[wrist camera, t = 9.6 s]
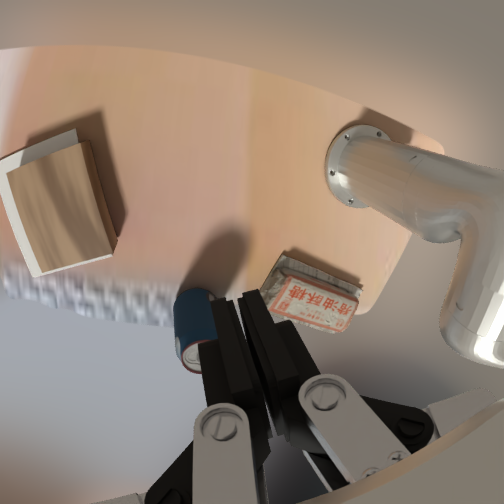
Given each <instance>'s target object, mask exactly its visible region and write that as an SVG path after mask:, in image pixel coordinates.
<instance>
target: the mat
mask: <svg viewBox="0 0 504 504" xmlns="http://www.w3.org/2000/svg"><path fill="white" fill-rule="evenodd" d="M78 143H79V141H78V137H77V132H76V128H75V129H72V130H70V131H67V132H64V133H62V134H59V135H57V136H54V137H52V138H49V139H47V140H44V141H42V142H39V143H37V144H35V145H32V146H30V147H28V148H26V149H23V150H21V151H19V152H17V153H15V154H13V155H11V156H9V157H6V158H4V159H2V160H0V194H1V197H2V200H3V203H4V206H5V209H6V212H7V215H8V218H9V221H10V224H11V226H12V229H13V232H14V234H15V237H16V239H17V242H18V244H19V247H20V249H21V252H22V254H23V256H24V259H25V261H26V263H27V266H28V268H29V270H30V272H31V274H32V277H33V278H35V277H39V276H42V275H46V274H49V273H53V272H56V271H60V270H64V269H67V268H71V267H75V266H78V265H82V264H86V263H89V262H93V261H97V260H101V259H104V258H108V257H112V254H109V255H106V256H102V257H98V258H94V259H91V260H87V261H83V262H80V263H76V264H72V265H69V266H65V267H62V268H58V269H55V270H51V271H47V272H44V273H42V271H41V269H40V267H39V265H38V262H37V260H36V258H35V255H34V253H33V251H32V248H31V246H30V243H29V241H28V238H27V236H26V233H25V230H24V228H23V225H22V222H21V219H20V216H19V214H18V211H17V208H16V205H15V202H14V198H13V195H12V192H11V189H10V185H9V182H8V178H7V175H6V173H7V172H9V171H12V170H14V169H16V168H18V167H20V166H22V165H25V164H27V163H29V162H32V161H34V160H36V159H39V158H41V157H44V156H46V155H49V154H51V153H54V152H56V151H59V150H62V149H64V148H67V147H70V146H73V145H75V144H78Z"/></svg>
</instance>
